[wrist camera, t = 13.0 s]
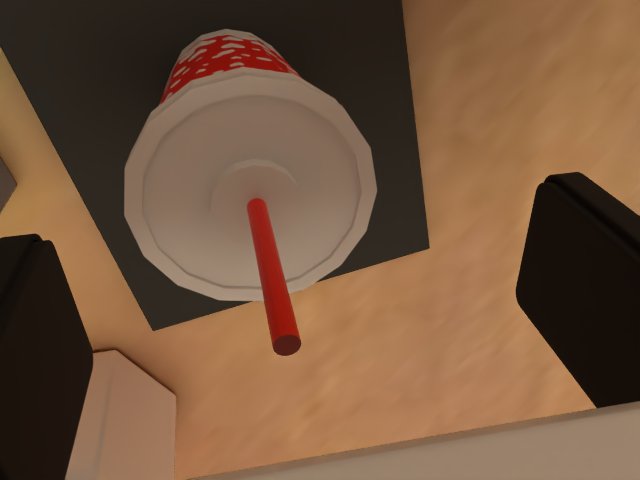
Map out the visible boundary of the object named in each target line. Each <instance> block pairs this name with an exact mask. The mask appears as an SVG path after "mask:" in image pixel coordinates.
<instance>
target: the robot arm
mask: <svg viewBox="0 0 640 480" xmlns="http://www.w3.org/2000/svg"><path fill="white" fill-rule="evenodd" d="M516 298H517V301H518V304H519V306H520V307H521V309H522V310H523V311H524V312H525V314H526V315H527V316H528V318H529V319H530V320H531V322H532V323H533V324H534V326H535V327H536V328H537V330H538V331H539V332H540V334H541V335H542V336H543V338H544V339H545V340H546V342H547V343H548V344H549V346H550V347H551V348H552V349H553V351H554V352H555V353H556V355H557V356H558V357H559V359H560V360H561V361H562V363H563V364H564V365H565V367H566V368H567V369H568V371H569V372H570V373H571V375H572V376H573V377H574V379H575V380H576V381H577V383H578V384H579V385H580V386H581V388H582V389H583V390H584V392H585V393H586V394H587V396H588V397H589V398H590V400H591V401H592V402H593V404H594V405H595V406H596V409H590V410H584V411H578V412H572V413H566V414H560V415H554V416H548V417H542V418H536V419H530V420H524V421H518V422H512V423H506V424H500V425H495V426H489V427H483V428H477V429H471V430H466V431H460V432H454V433H448V434H442V435H437V436H431V437H425V438H419V439H413V440H408V441H402V442H396V443H390V444H385V445H379V446H373V447H368V448H362V449H356V450H350V451H345V452H339V453H333V454H327V455H322V456H316V457H310V458H305V459H299V460H293V461H288V462H282V463H277V464H271V465H266V466H260V467H254V468H249V469H243V470H238V471H232V472H226V473H221V474H215V475H210V476H204V477H198V478H193V479H187V480H640V216H639V215H637V214H636V213H635V212H633V211H632V210H631V209H629V208H628V207H627V206H625V205H624V204H623V203H621V202H620V201H619V200H617V199H616V198H614V197H613V196H612V195H610V194H609V193H608V192H606V191H605V190H604V189H602V188H601V187H600V186H598V185H597V184H596V183H594V182H593V181H592V180H590V179H589V178H588V177H586V176H585V175H583V174H582V173H580V172H573V173H564V174H555V175H550V176H548V177H547V178H546V179H545V181H544V183H541V184H540V185H539V186H538V187H537V190H536V194H535V199H534V204H533V208H532V213H531V218H530V223H529V228H528V233H527V237H526V242H525V247H524V252H523V257H522V262H521V266H520V271H519V276H518V281H517V286H516ZM92 370H93V351H92V348H91V345H90V342H89V339H88V337H87V334H86V331H85V329H84V326H83V323H82V320H81V318H80V315H79V312H78V309H77V307H76V304H75V301H74V298H73V296H72V293H71V290H70V287H69V285H68V282H67V279H66V276H65V274H64V271H63V268H62V266H61V263H60V260H59V257H58V255H57V252H56V249H55V247H54V245H53V243H52V242H51V241H50V240H46V241H43V240H42V239H41V237H40V236H39V235H37V234H28V235H19V236H11V237H3V238H0V480H65V477H66V473H67V469H68V465H69V461H70V457H71V453H72V449H73V445H74V442H75V438H76V434H77V430H78V426H79V422H80V418H81V414H82V410H83V406H84V402H85V398H86V394H87V390H88V386H89V382H90V378H91V374H92Z"/></svg>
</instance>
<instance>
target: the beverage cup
mask: <svg viewBox="0 0 640 480" xmlns="http://www.w3.org/2000/svg"><path fill="white" fill-rule="evenodd" d="M376 193H377V186H376V179H375V173H374V166H373V160H372V154H371V148H370V146H369V145H368V143H367V142H366V140H365V139H364V137H363V136H362V134H361V133H360V131H359V130H358V128H357V127H356V125H355V124H354V122H353V121H352V120H351V118H350V117H349V115H348V114H347V112H346V111H345V109H344V108H343V106H342V105H340V104H339V103H338V102H337V101H336V99H334V98H333V97H331V96H329V95H328V94H326V93H324V92H323V91H321V90H320V89H318V88H316V87H315V86H313V85H311V84H310V83H308V82H306V81H305V80H303V79H302V78H301V77H300V76H299V75H298V73H297V72H296V71H295V70H294V69H293V68H292V67H291V66H290V65H289V64H288V63H287V62H286V61H285V60H284V58H283V57H282V56H281V55H280V54H279V53H278V52H277V51H276V50H275V49H274V48H273V47H272V46H271V45H269V44H268V43H266V42H265V41H263V40H261V39H260V38H258V37H257V36H255V35H253V34H252V33H249V32H242V31H236V30H230V29H223V30H219V31H215V32H211V33H208V34H204V35H201V36H200V37H198V38H197V39H196V40H195V41H193V42H192V43H191V44H190V45H188V46H187V47H186V48H185V49H183V50H182V52H181V53H180V55H179V57H178V59H177V61H176V63H175V65H174V67H173V69H172V71H171V74H170V76H169V79H168V82H167V85H166V87H165V90H164V93H163V96H162V98H161V101H160V104H159V106H158V107H157V108H156V109H154V110H153V111H152V112H151V113H150V115H149V117H148V119H147V121H146V123H145V125H144V127H143V129H142V131H141V133H140V135H139V137H138V139H137V141H136V143H135V145H134V147H133V149H132V151H131V153H130V155H129V158H128V160H127V162H126V165H125V188H124V216H125V218H126V220H127V222H128V224H129V226H130V229H131V231H132V233H133V235H134V237H135V239H136V241H137V243H138V245H139V247H140V249H141V252H142V254H143V256H144V257H145V258H147V259H148V260H149V261H150V262H151V263H152V264H153V265H155V266H156V267H157V268H158V269H159V270H160V271H162V272H163V273H164V274H165V275H166V276H167V277H169V278H170V279H171V280H172V281H173V282H174V283H176V284H177V285H179V286H181V287H184V288H187V289H190V290H192V291H195V292H198V293H201V294H203V295H206V296H209V297H212V298H214V299H217V300H229V301H264V303H265V308H266V313H267V319H268V324H269V330H270V335H271V340H272V346H273V349H274V351H275V352H276V353H277V354H279V355H282V356H288V355H292V354H294V353H295V352H297V351H298V350H299V348H300V346H301V340H300V336H299V332H298V328H297V324H296V321H295V317H294V313H293V309H292V305H291V301H290V297H289V294H291V293H294V292H297V291H301V290H304V289H306V288H308V287H309V286H311V285H312V284H314V283H315V282H317V281H318V280H320V279H321V278H323V277H324V276H326V275H327V274H329V273H330V272H332V271H333V270H335V269H336V268H338V267H339V266H340V265H342V263H343V262H344V261H345V259H346V258H347V256H348V255H349V254H350V252H351V251H352V250H353V248H354V247H355V246H356V244H357V243H358V242H359V240H360V239H361V238H362V236H363V235H364V234H365V232H366V231H367V227H368V223H369V219H370V216H371V212H372V208H373V205H374V201H375V197H376Z"/></svg>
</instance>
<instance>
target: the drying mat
mask: <svg viewBox="0 0 640 480" xmlns="http://www.w3.org/2000/svg"><path fill="white" fill-rule="evenodd" d="M223 29H230V30H236V31H242V32H249V33H252V34H253V35H255V36H257V37H258V38H260V39H261V40H263V41H265V42H266V43H268V44H269V45H271V46H272V47H273V48H274V49H275V50H276V51H277V52H278V53H279V54H280V55H281V56H282V57H283V58H284V60H285V61H286V62H287V63H288V64H289V65H290V66H291V67H292V68H293V69H294V70H295V71H296V72H297V73H298V75H299V76H300V77H301V78H302V79H303V80H305V81H306V82H308V83H310V84H311V85H313V86H315V87H316V88H318V89H320V90H321V91H323V92H324V93H326V94H328V95H329V96H331V97H333V98H334V99H336V101H337V102H338V103H339V104H340V105H342V106H343V108H344V109H345V111H346V112H347V114H348V115H349V117H350V118H351V120H352V121H353V122H354V124H355V125H356V127H357V128H358V130H359V131H360V133H361V134H362V136H363V137H364V139H365V140H366V142H367V143H368V145H369V146H370V148H371V154H372V160H373V166H374V173H375V179H376V186H377V193H376V197H375V201H374V205H373V208H372V212H371V216H370V219H369V223H368V227H367V231H366V232H365V234H364V235H363V236H362V238H361V239H360V240H359V242H358V243H357V244H356V246H355V247H354V248H353V250H352V251H351V252H350V254H349V255H348V256H347V258H346V259H345V261H344V262H343V263H342V265H340V266H339V267H338V268H336V269H335V270H333V271H332V272H330V273H329V274H327V275H326V276H324V277H323V278H321V279H320V280H318V281H317V282H319V281H322V280H325V279H329V278H332V277H335V276H339V275H342V274H346V273H349V272H352V271H356V270H359V269H362V268H366V267H369V266H372V265H376V264H379V263H382V262H386V261H389V260H392V259H396V258H399V257H402V256H406V255H409V254H412V253H416V252H419V251H422V250H426V249H429V248H430V247H429V238H428V229H427V221H426V212H425V203H424V194H423V186H422V177H421V168H420V159H419V150H418V142H417V133H416V124H415V115H414V107H413V98H412V89H411V80H410V71H409V63H408V54H407V45H406V36H405V28H404V19H403V10H402V1H401V0H0V46H1V48H2V50H3V52H4V54H5V56H6V57H7V59H8V61H9V63H10V65H11V67H12V69H13V70H14V72H15V74H16V76H17V78H18V80H19V82H20V84H21V85H22V87H23V89H24V91H25V93H26V95H27V97H28V99H29V100H30V102H31V104H32V106H33V108H34V110H35V112H36V113H37V115H38V117H39V119H40V121H41V123H42V125H43V127H44V128H45V130H46V132H47V134H48V136H49V138H50V140H51V141H52V143H53V145H54V147H55V149H56V151H57V153H58V155H59V156H60V158H61V160H62V162H63V164H64V166H65V168H66V170H67V171H68V173H69V175H70V177H71V179H72V181H73V183H74V184H75V186H76V188H77V190H78V192H79V194H80V196H81V198H82V199H83V201H84V203H85V205H86V207H87V209H88V211H89V212H90V214H91V216H92V218H93V220H94V222H95V224H96V226H97V227H98V229H99V231H100V233H101V235H102V237H103V239H104V240H105V242H106V244H107V246H108V248H109V250H110V252H111V254H112V255H113V257H114V259H115V261H116V263H117V265H118V267H119V269H120V270H121V272H122V274H123V276H124V278H125V280H126V282H127V283H128V285H129V287H130V289H131V291H132V293H133V295H134V297H135V298H136V300H137V302H138V304H139V306H140V308H141V310H142V311H143V313H144V315H145V317H146V319H147V321H148V323H149V325H150V326H151V328H152V330H153V331H155V330H159V329H162V328H165V327H169V326H172V325H175V324H179V323H182V322H185V321H189V320H192V319H195V318H199V317H202V316H205V315H209V314H212V313H215V312H219V311H222V310H225V309H229V308H232V307H235V306H239V305H242V304H245V303H249V302H252V301H229V300H217V299H214V298H212V297H209V296H206V295H203V294H201V293H198V292H195V291H192V290H190V289H187V288H184V287H181V286H179V285H177V284H176V283H174V282H173V281H172V280H171V279H170V278H169V277H167V276H166V275H165V274H164V273H163V272H162V271H160V270H159V269H158V268H157V267H156V266H155V265H153V264H152V263H151V262H150V261H149V260H148V259H147V258H145V257H144V256H143V254H142V252H141V249H140V247H139V245H138V243H137V241H136V239H135V237H134V235H133V233H132V231H131V229H130V226H129V224H128V222H127V220H126V218H125V216H124V188H125V165H126V162H127V160H128V158H129V155H130V153H131V151H132V149H133V147H134V145H135V143H136V141H137V139H138V137H139V135H140V133H141V131H142V129H143V127H144V125H145V123H146V121H147V119H148V117H149V115H150V113H151V112H152V111H153V110H154V109H156V108H157V107H158V106H159V104H160V101H161V98H162V96H163V93H164V90H165V87H166V85H167V82H168V79H169V76H170V74H171V71H172V69H173V67H174V65H175V63H176V61H177V59H178V57H179V55H180V53H181V52H182V50H183V49H185V48H186V47H187V46H188V45H190V44H191V43H192V42H193V41H195V40H196V39H197V38H198V37H200V36H201V35H204V34H208V33H211V32H215V31H219V30H223Z"/></svg>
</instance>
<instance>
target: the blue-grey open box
mask: <svg viewBox="0 0 640 480" xmlns="http://www.w3.org/2000/svg"><path fill="white" fill-rule="evenodd" d="M16 187H17V184H16V182H15V181H14V179H13V177H12V176H11V174H10V172H9V171H8V169H7V167H6V166H5V164H4V162H3V161H2V159H1V158H0V213H1V212H2V210H3V208H4V207H5V205H6V203H7V202H8V200H9V198H10V197H11V195H12V193H13V192H14V190H15V188H16Z"/></svg>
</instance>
